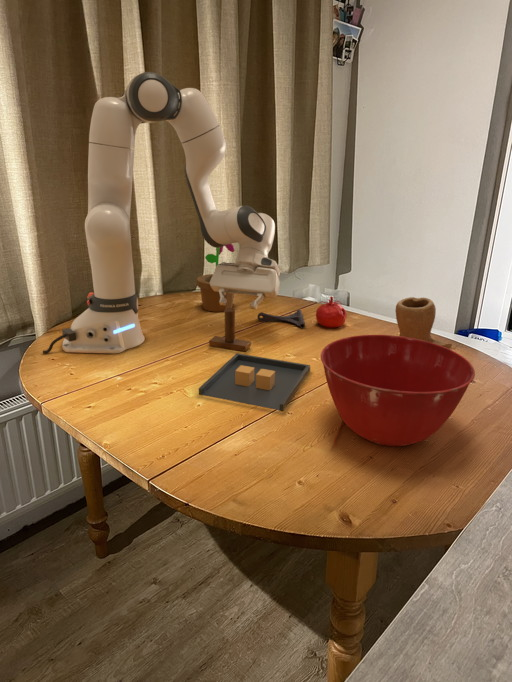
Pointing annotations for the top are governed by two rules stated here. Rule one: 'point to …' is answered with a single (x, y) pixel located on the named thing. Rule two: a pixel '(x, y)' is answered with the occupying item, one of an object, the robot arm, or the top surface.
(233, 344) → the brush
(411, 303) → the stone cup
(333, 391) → the mixing bowl
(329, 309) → the pomegranate
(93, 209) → the robot arm
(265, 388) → the bread cube
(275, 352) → the top surface
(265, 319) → the dark grey scraper
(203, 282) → the flowerpot
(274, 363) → the tray
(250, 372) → the bread cube
